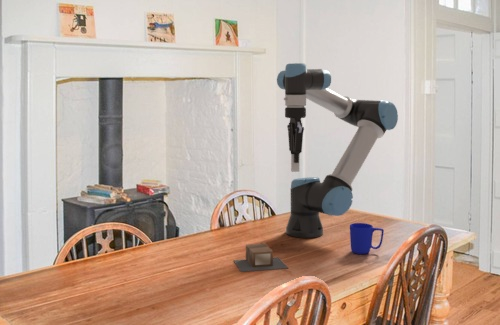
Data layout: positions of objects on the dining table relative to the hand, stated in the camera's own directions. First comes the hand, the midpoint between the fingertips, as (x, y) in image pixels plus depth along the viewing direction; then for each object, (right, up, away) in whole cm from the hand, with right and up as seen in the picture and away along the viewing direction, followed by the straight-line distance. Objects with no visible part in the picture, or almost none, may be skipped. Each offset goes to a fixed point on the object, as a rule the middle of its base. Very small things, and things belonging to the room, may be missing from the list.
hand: (295, 171), depth 211 cm
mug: (+26, -30, -1) cm, 39 cm away
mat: (-13, -31, -16) cm, 38 cm away
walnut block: (-15, -28, -10) cm, 33 cm away
